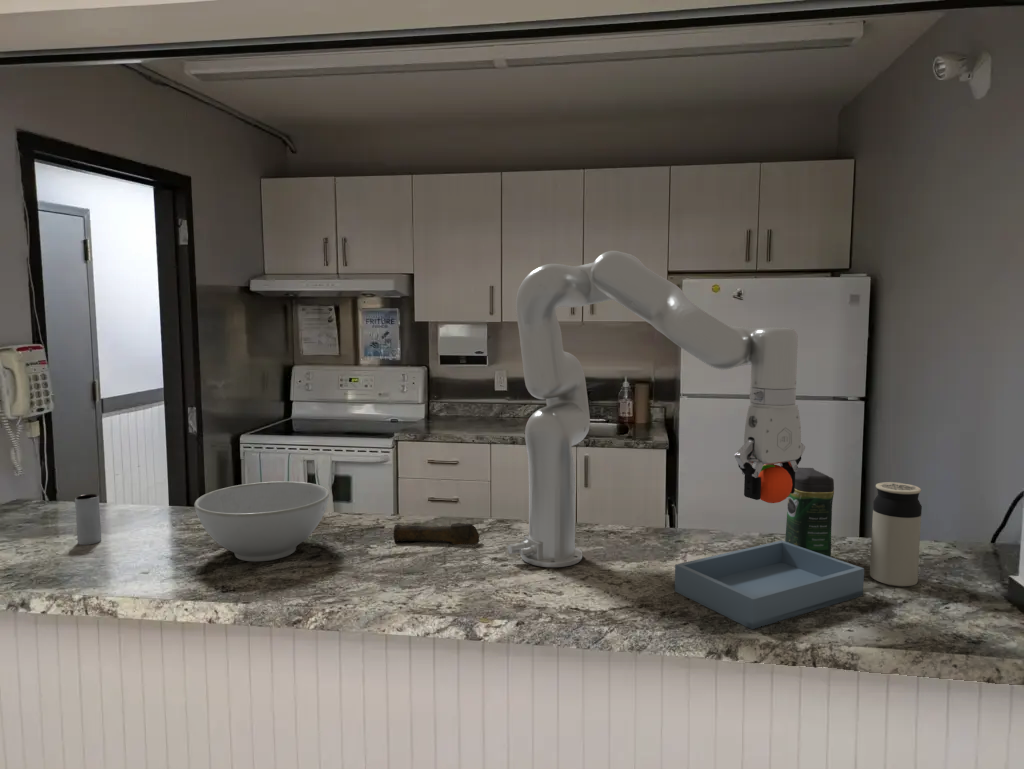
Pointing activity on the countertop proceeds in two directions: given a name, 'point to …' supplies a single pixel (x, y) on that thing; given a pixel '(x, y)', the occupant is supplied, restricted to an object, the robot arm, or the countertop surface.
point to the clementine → (775, 483)
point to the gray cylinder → (88, 519)
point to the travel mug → (896, 534)
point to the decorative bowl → (262, 517)
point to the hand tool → (437, 533)
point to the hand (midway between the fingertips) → (769, 494)
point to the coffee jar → (810, 511)
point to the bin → (768, 582)
